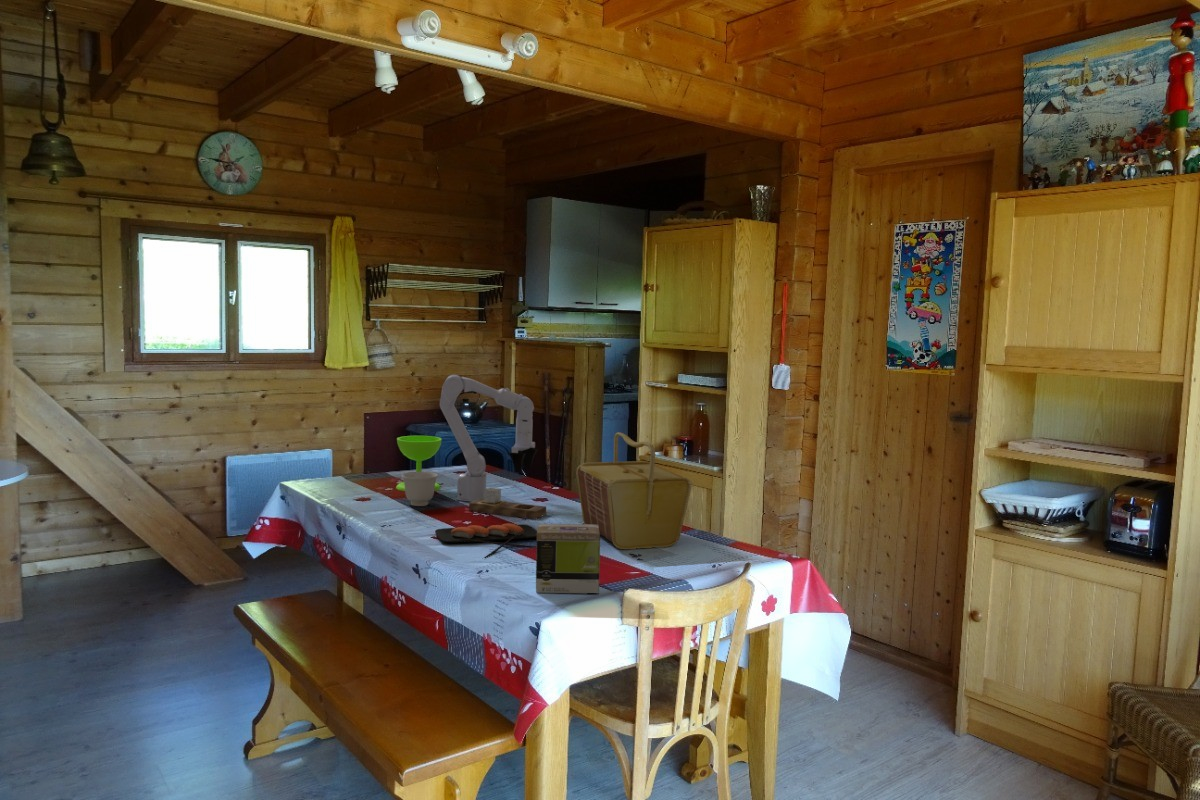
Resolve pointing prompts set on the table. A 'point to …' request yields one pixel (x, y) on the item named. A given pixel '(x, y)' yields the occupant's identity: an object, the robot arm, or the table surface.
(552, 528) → the tea box
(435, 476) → the teacup
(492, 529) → the sushi plate
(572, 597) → the table surface
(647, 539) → the picnic basket
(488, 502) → the beige rectangular block
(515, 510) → the wooden compartment tray
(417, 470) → the wineglass
